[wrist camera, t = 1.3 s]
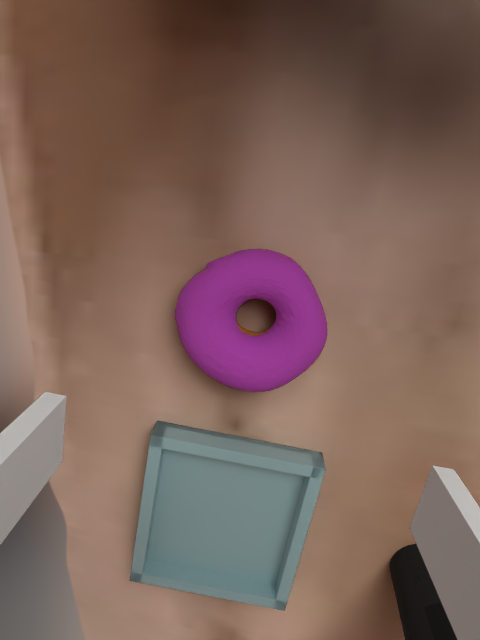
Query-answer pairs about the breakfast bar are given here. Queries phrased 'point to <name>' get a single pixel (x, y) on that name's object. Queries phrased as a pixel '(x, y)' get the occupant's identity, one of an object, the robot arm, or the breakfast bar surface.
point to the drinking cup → (418, 598)
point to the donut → (240, 344)
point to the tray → (224, 514)
